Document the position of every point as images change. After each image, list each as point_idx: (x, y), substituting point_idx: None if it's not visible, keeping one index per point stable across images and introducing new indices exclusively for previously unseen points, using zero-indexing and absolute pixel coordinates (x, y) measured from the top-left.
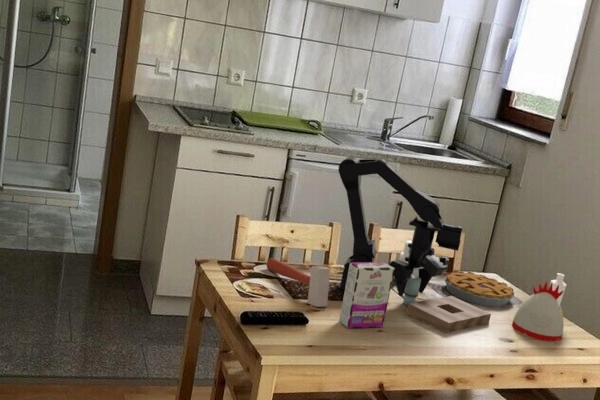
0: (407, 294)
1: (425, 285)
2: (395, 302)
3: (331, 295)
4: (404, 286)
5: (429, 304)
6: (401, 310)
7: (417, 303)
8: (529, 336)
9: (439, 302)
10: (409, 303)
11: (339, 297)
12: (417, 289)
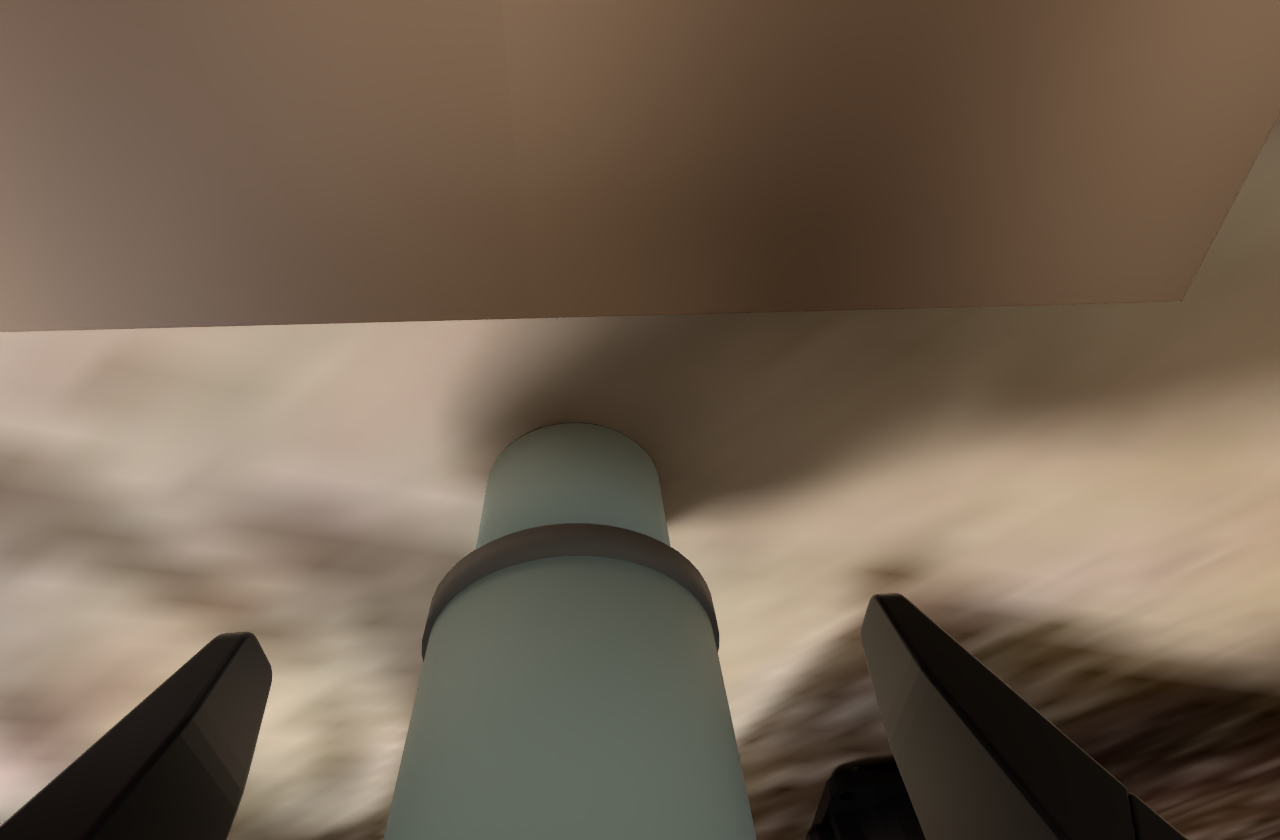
0: (713, 619)
1: (91, 806)
2: (733, 567)
3: (1204, 763)
4: (1090, 800)
5: (645, 15)
6: (953, 348)
7: (963, 223)
8: None
9: (29, 21)
10: (1165, 292)
11: (1196, 733)
12: (569, 684)
